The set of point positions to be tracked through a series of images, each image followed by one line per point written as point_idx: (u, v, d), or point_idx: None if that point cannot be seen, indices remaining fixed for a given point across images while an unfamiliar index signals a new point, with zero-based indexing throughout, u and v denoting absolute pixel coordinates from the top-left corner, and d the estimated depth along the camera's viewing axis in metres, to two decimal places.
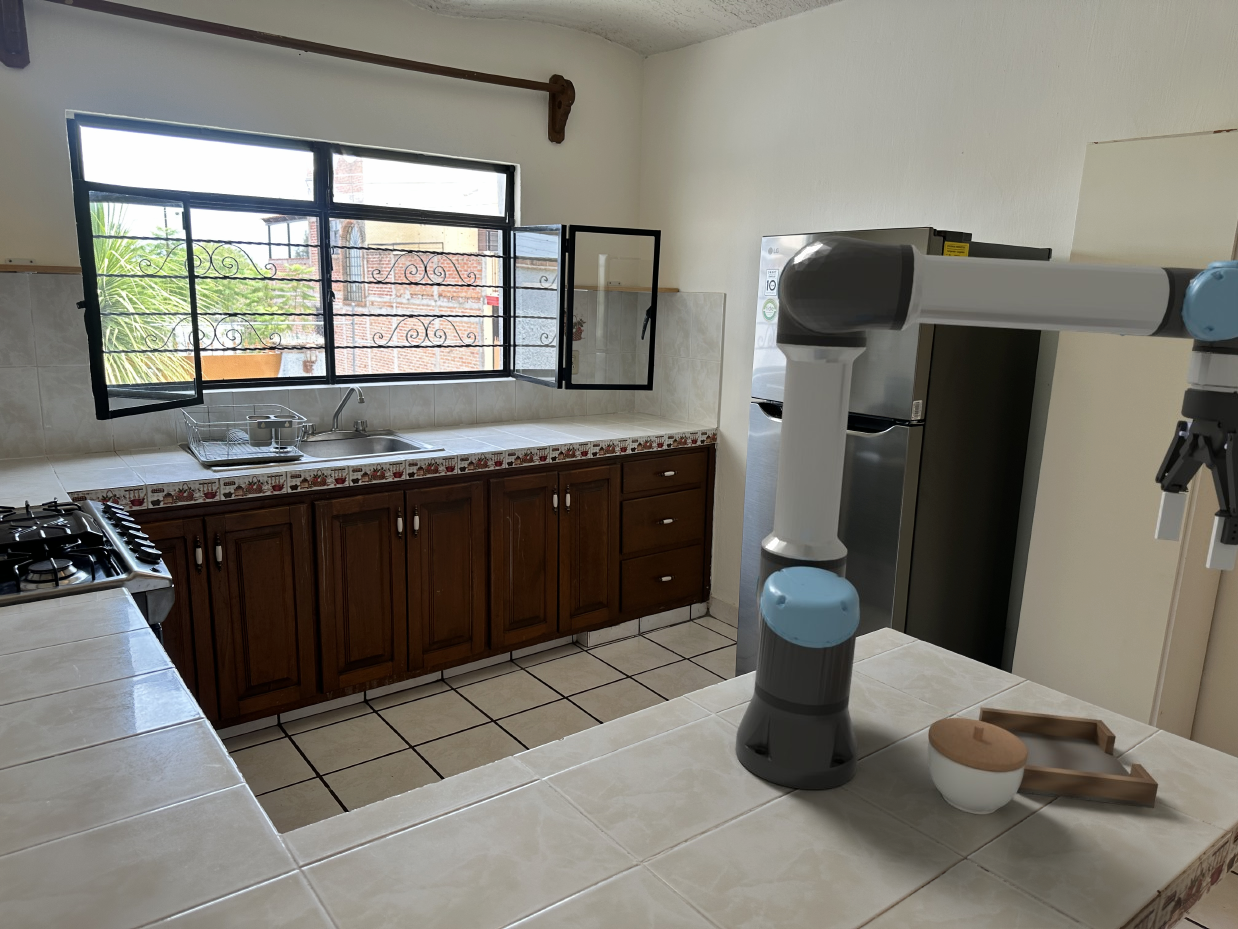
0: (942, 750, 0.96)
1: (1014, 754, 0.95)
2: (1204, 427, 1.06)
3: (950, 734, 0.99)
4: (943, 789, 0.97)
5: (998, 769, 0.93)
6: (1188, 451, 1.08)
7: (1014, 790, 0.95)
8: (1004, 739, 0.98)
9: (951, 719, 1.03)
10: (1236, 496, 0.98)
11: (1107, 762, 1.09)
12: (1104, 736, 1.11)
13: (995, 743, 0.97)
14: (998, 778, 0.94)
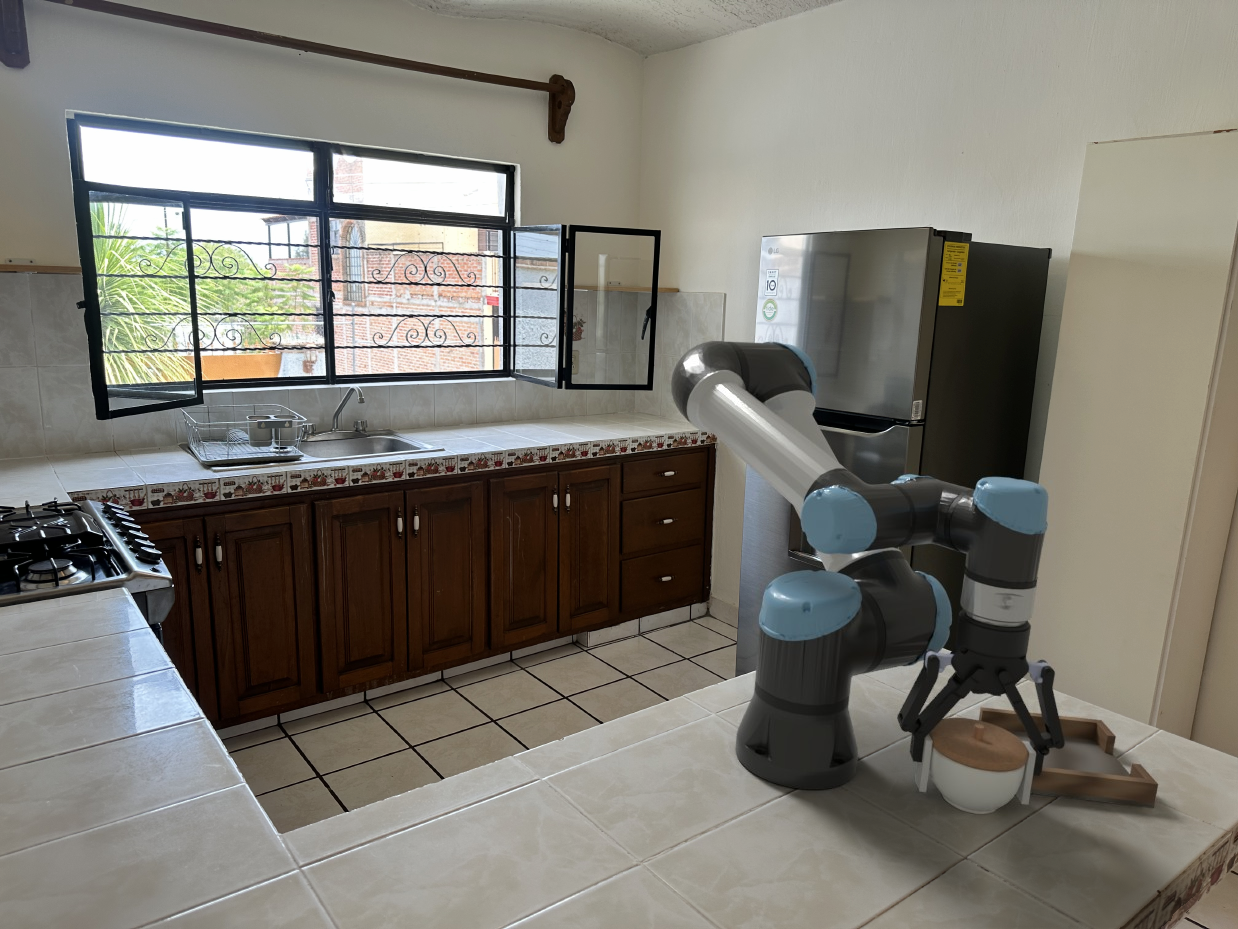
0: (942, 750, 0.96)
1: (1014, 754, 0.95)
2: None
3: (950, 733, 0.99)
4: (943, 789, 0.97)
5: (998, 769, 0.93)
6: None
7: (1014, 790, 0.95)
8: (1004, 739, 0.98)
9: (951, 719, 1.03)
10: (903, 705, 1.00)
11: (1107, 762, 1.09)
12: (1104, 736, 1.11)
13: (995, 743, 0.97)
14: (998, 778, 0.94)
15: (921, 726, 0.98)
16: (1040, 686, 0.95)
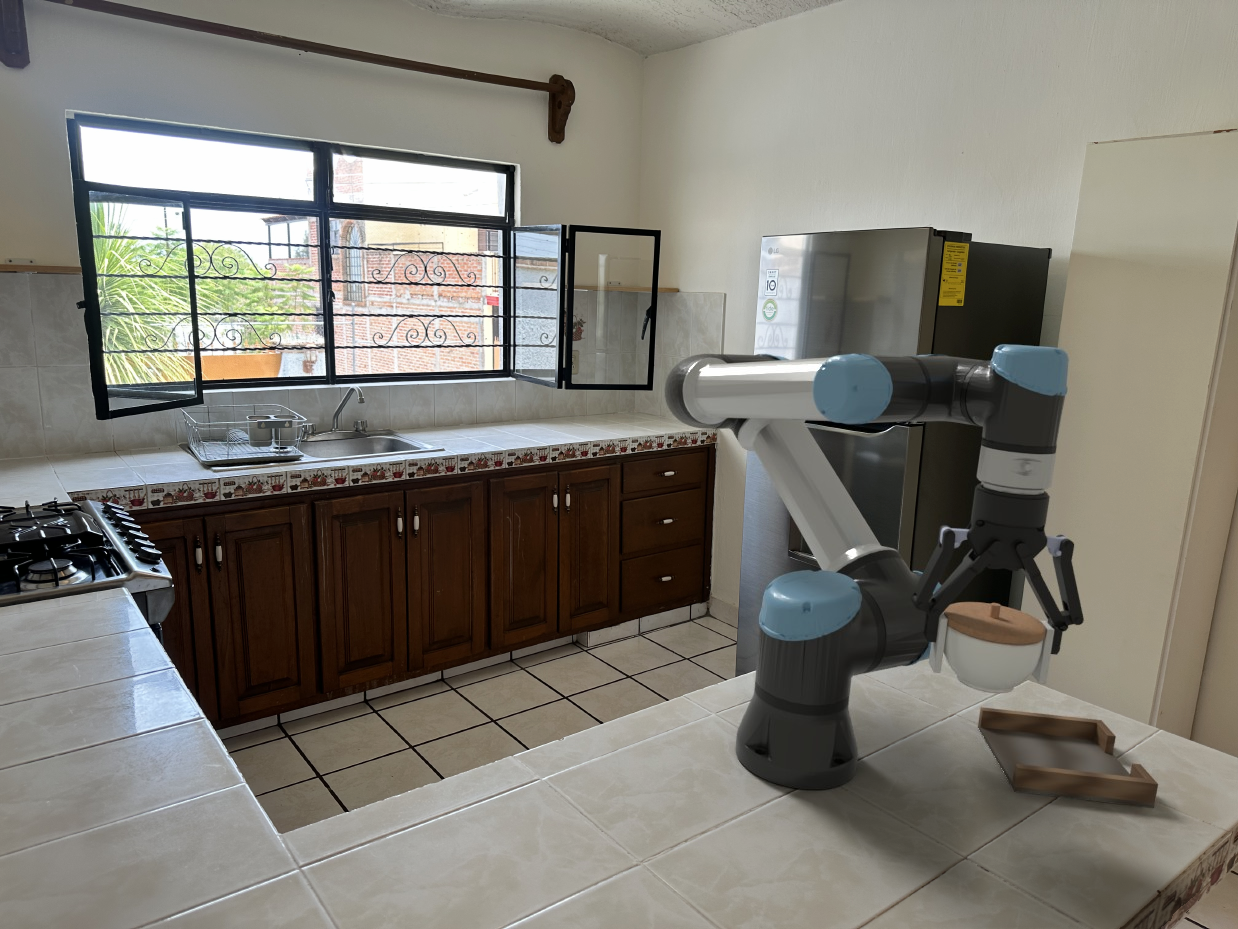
0: (958, 626, 0.94)
1: (1032, 629, 0.92)
2: None
3: (966, 613, 0.96)
4: (958, 668, 0.95)
5: (1016, 642, 0.91)
6: None
7: (1032, 666, 0.92)
8: (1021, 618, 0.96)
9: (966, 603, 1.00)
10: (917, 585, 0.97)
11: (1107, 762, 1.09)
12: (1104, 736, 1.11)
13: (1012, 621, 0.95)
14: (1016, 652, 0.91)
15: (936, 604, 0.95)
16: (1059, 560, 0.93)
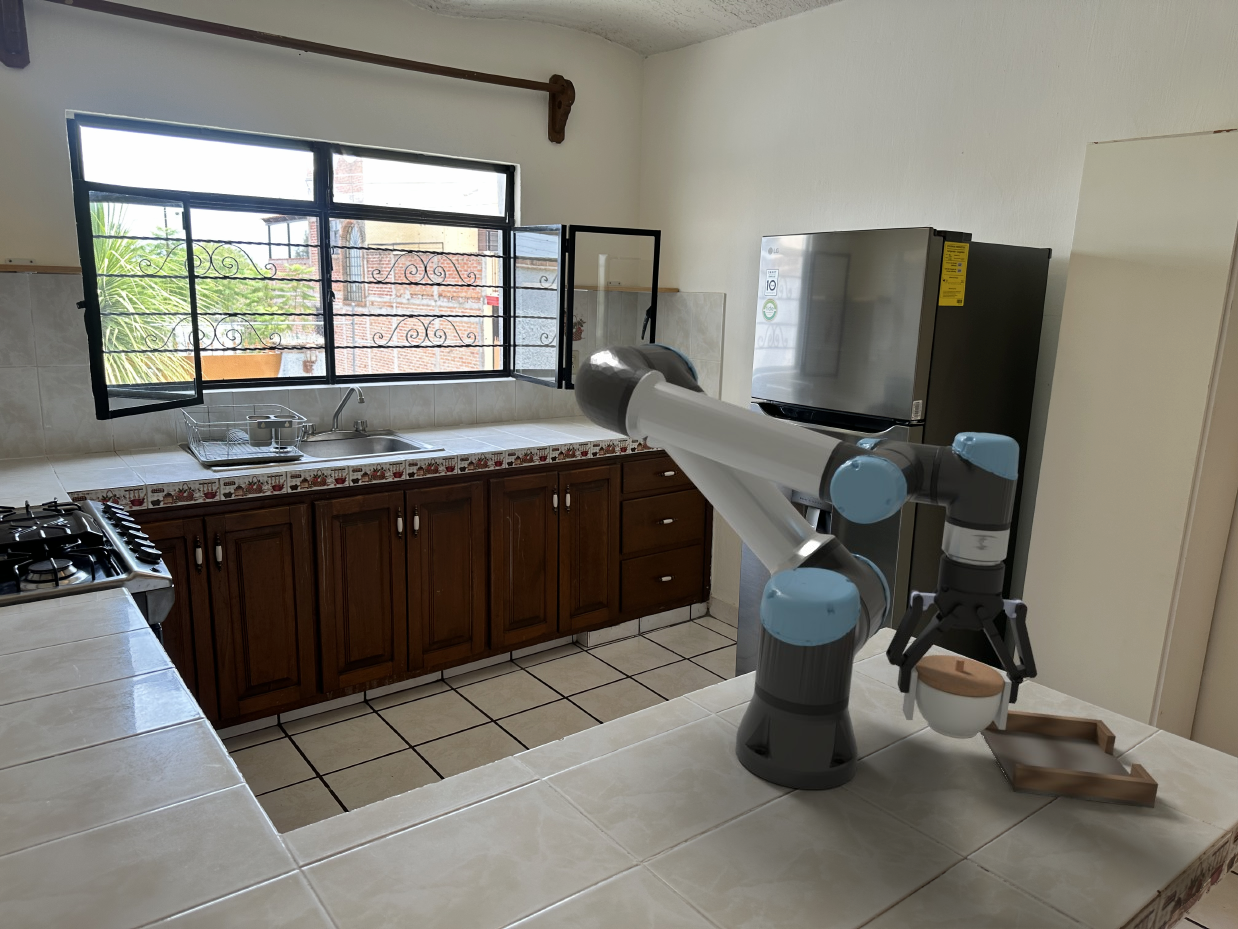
0: (926, 680, 1.06)
1: (991, 682, 1.05)
2: None
3: (934, 667, 1.09)
4: (928, 716, 1.07)
5: (976, 695, 1.03)
6: None
7: (992, 715, 1.05)
8: (982, 671, 1.08)
9: (936, 656, 1.13)
10: (891, 642, 1.10)
11: (1107, 762, 1.09)
12: (1104, 736, 1.11)
13: (975, 674, 1.07)
14: (977, 703, 1.03)
15: (907, 659, 1.08)
16: (1014, 621, 1.05)
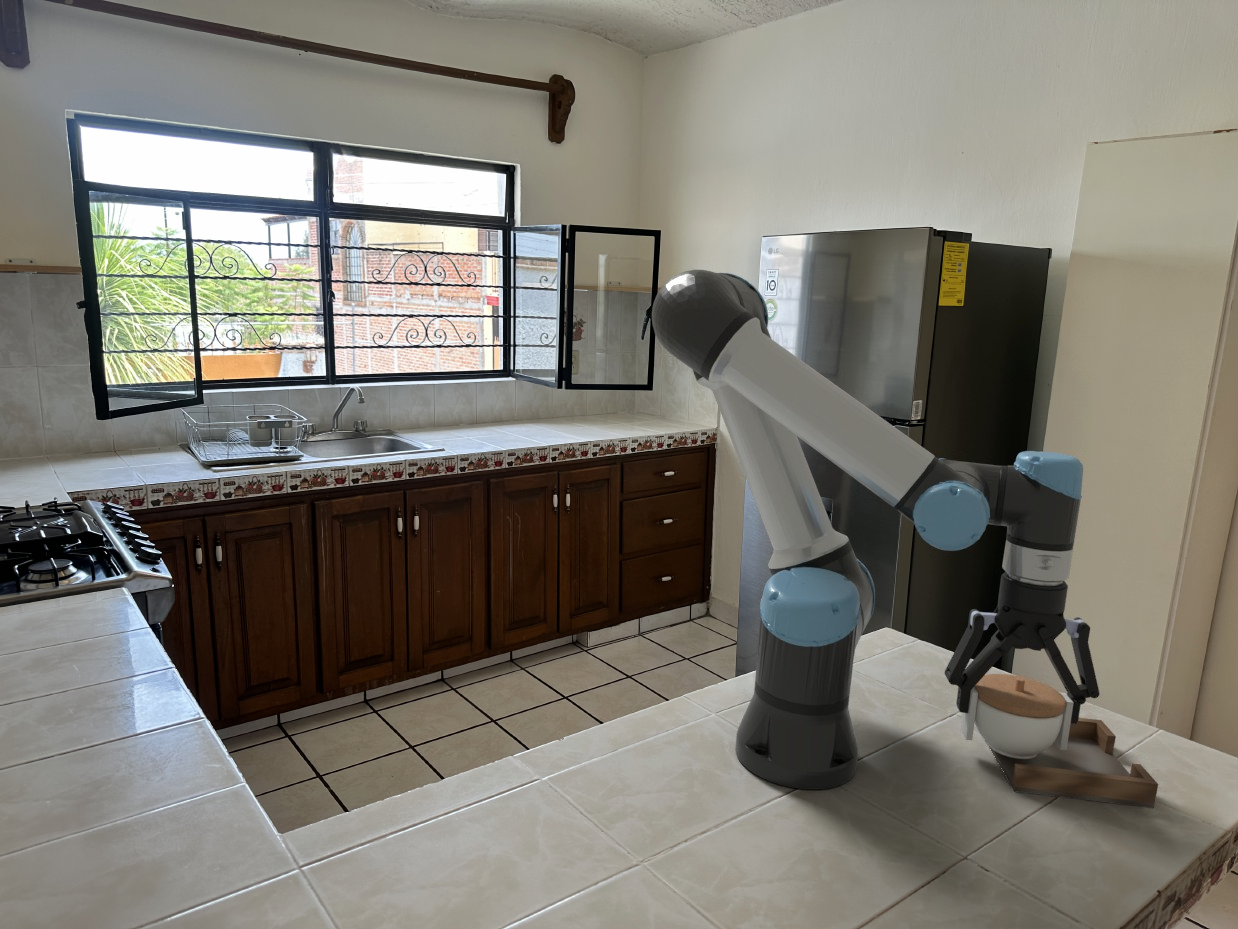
0: (987, 700, 1.06)
1: (1053, 703, 1.04)
2: None
3: (994, 686, 1.08)
4: (988, 736, 1.06)
5: (1040, 716, 1.02)
6: None
7: (1054, 736, 1.04)
8: (1043, 691, 1.07)
9: (993, 675, 1.12)
10: (950, 661, 1.09)
11: (1107, 762, 1.09)
12: (1104, 736, 1.11)
13: (1035, 694, 1.06)
14: (1040, 724, 1.03)
15: (967, 679, 1.07)
16: (1077, 641, 1.05)
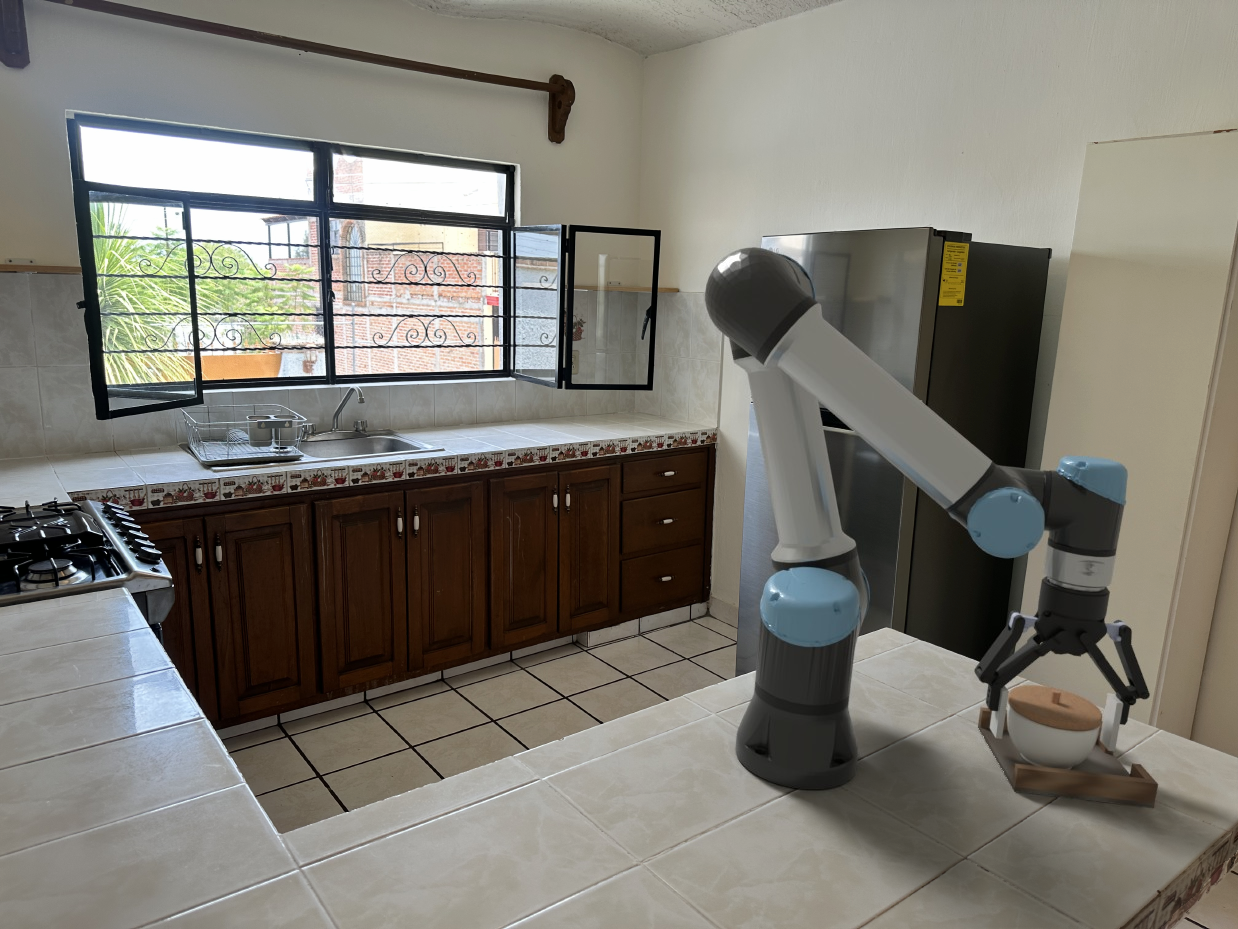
0: (1023, 712, 1.05)
1: (1090, 715, 1.04)
2: None
3: (1029, 698, 1.08)
4: (1023, 748, 1.06)
5: (1077, 728, 1.02)
6: None
7: (1090, 748, 1.04)
8: (1079, 703, 1.07)
9: (1028, 686, 1.12)
10: (982, 659, 1.09)
11: (1107, 762, 1.09)
12: None
13: (1071, 706, 1.06)
14: (1077, 737, 1.02)
15: (999, 677, 1.07)
16: (1120, 644, 1.04)
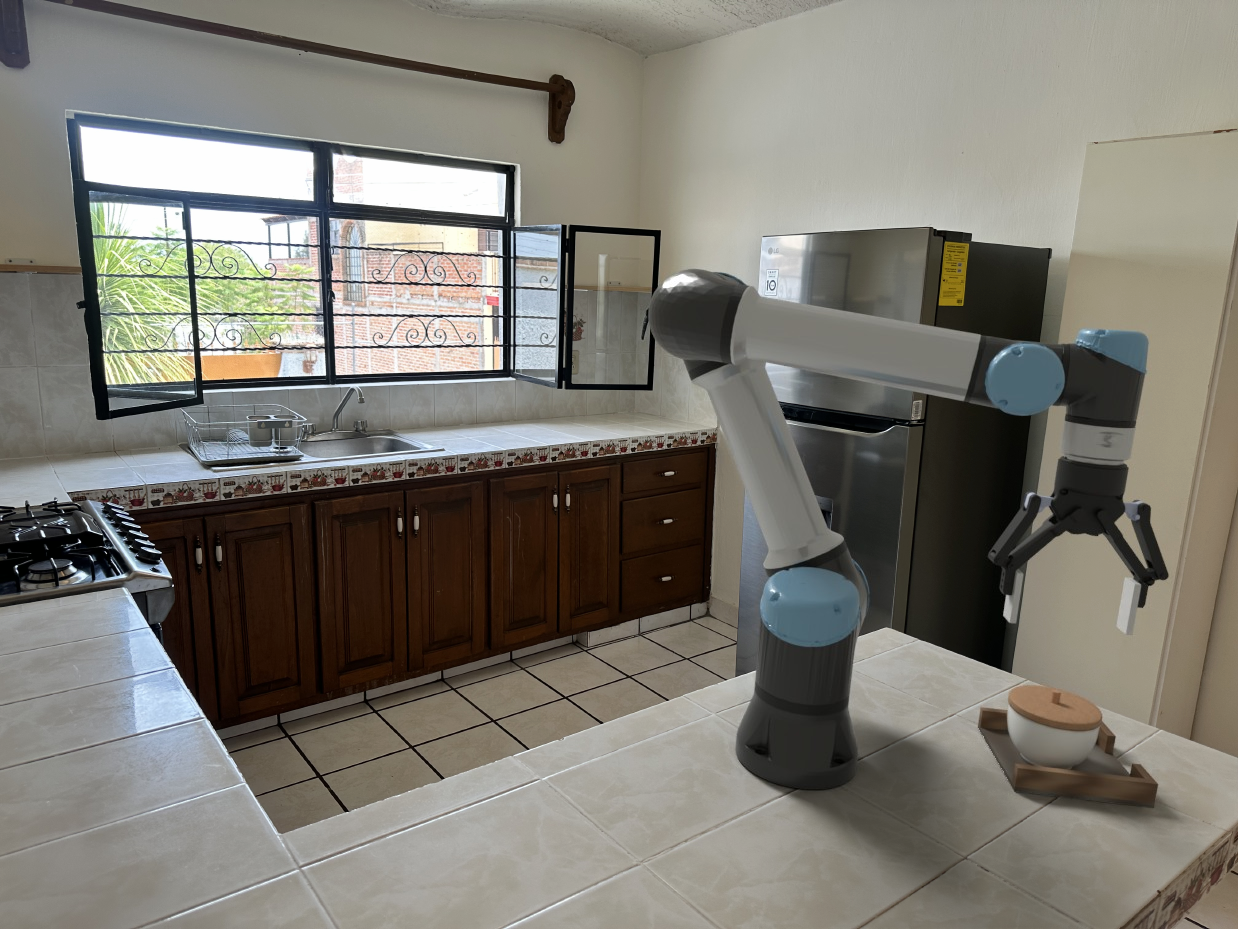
0: (1023, 712, 1.05)
1: (1090, 716, 1.04)
2: None
3: (1029, 698, 1.08)
4: (1024, 748, 1.06)
5: (1077, 728, 1.02)
6: None
7: (1090, 748, 1.04)
8: (1079, 703, 1.07)
9: (1028, 686, 1.12)
10: (996, 543, 1.06)
11: (1107, 762, 1.09)
12: (1104, 736, 1.11)
13: (1071, 706, 1.06)
14: (1077, 737, 1.02)
15: (1014, 559, 1.04)
16: (1138, 523, 1.01)
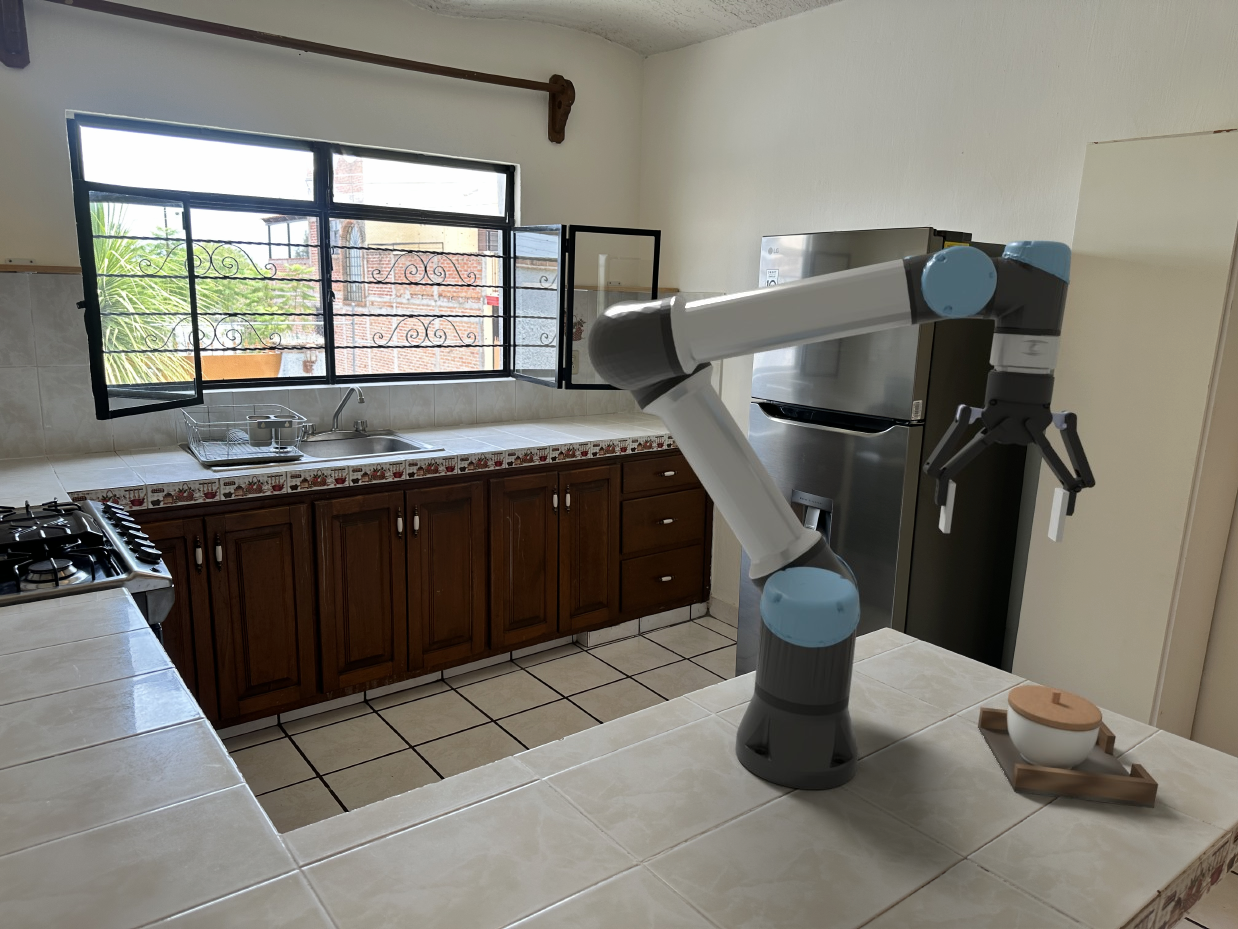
0: (1023, 712, 1.05)
1: (1090, 716, 1.04)
2: None
3: (1029, 698, 1.08)
4: (1023, 748, 1.06)
5: (1077, 729, 1.02)
6: None
7: (1090, 749, 1.04)
8: (1079, 703, 1.07)
9: (1028, 686, 1.12)
10: (930, 456, 1.09)
11: (1107, 762, 1.09)
12: (1104, 736, 1.11)
13: (1071, 706, 1.06)
14: (1077, 737, 1.02)
15: (946, 470, 1.07)
16: (1065, 432, 1.04)
